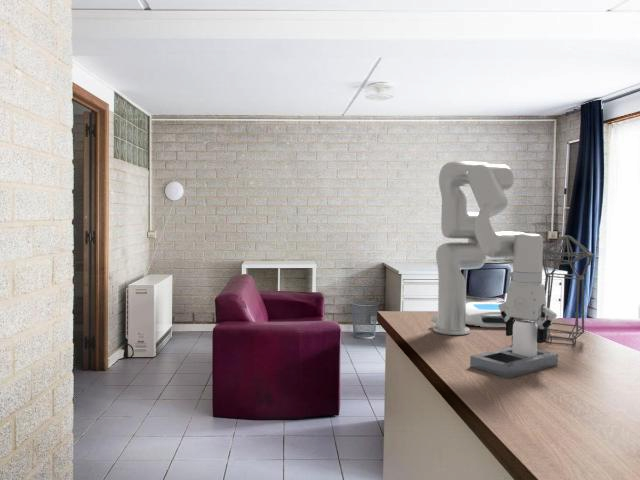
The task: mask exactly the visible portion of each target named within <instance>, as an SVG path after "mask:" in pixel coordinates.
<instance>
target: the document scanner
mask: <svg viewBox="0 0 640 480" xmlns="http://www.w3.org/2000/svg"><path fill="white" fill-rule="evenodd" d="M504 302H505V301H504ZM504 302H501V301H500V302H494V301H493V302H489V301H488V302H485V301H483V302H482V301H480V302H479V301H470V302H466V324H467V326H472V325H473V326H474V327H478V326H480V328H485V327H506V322H484V321H483V319H482V318H503V316H502V315H501V311H500V309H499V304H502V303H504ZM515 319H517V318H514V319H513V321H514V320H515ZM502 320H504V318H503V319H502ZM536 324H537V323H536ZM537 326H538V325H537ZM538 327H539V326H538Z"/></svg>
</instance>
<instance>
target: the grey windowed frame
mask: <svg viewBox="0 0 640 480" xmlns="http://www.w3.org/2000/svg"><path fill="white" fill-rule="evenodd" d="M469 359H470V360H469V361H470V363H469V365H470V366H469V367H470V368H473V369H477V370H479V371H483V372H486V373H490V374H492V375H496V376H499V377H503V378H506V379H511V378H512V379H513V378H515V377H518V376H522V375H526V374H530V373H533V372H536V371H540V370H544V369H547V368H551V367H555V366H557V365H558V364H559V363H558V362H559V354H558V353H555V352H550V351H548V350H543V349H538V348H537V356H533V357H526V356H522V355H518V354H514V353H512V346H509V347H508V346H507V347H504V348H500V349H495V350H490V351H486V352H485V351H484V352H482V353H477V354H472V355H470V357H469Z"/></svg>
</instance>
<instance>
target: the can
mask: <svg viewBox="0 0 640 480" xmlns="http://www.w3.org/2000/svg"><path fill="white" fill-rule="evenodd" d="M537 329H539V326H537V324H536V322H535V321H528V320H523V319H518V318H517V319H515V322H514V324H513V335H512V336H513V341H512V340H511V347H512V353H514V354H518V355H522V356H526V357H533V356H537V349H538V346H537Z"/></svg>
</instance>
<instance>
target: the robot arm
mask: <svg viewBox="0 0 640 480" xmlns="http://www.w3.org/2000/svg"><path fill="white" fill-rule="evenodd" d="M514 182H515V174H514V172H513V170H512V169H511V168H510V167H509V166H508V165H506V164H499V163H492V162H487V161H486V162H485V161H467V160H458V161H456V160H455V161H448V162H446V163H444V165H442V167H441V169H440V171H439V175H438V185H439V191H440V197H441V216H440V217H441V220H440V221H441V223H440V224H441V234H442V235H443V237H445V238H447V239H453V240H454V239H458V240H460V239H461V240H462V239H464V240H465V239H467V242H462V241H461V242H460V241H459V242H457V241H455V242H453V241H451V242H445V243H443V244H440V245H439V246H438V247H437V249H436V253H435V257H436V265H437V272H438V273H437V274H438V278H437V279H438V286H437V287H438V288H437V289H438V290H437V291H438V294H437V295H438V296H437V298H438V301H437V303H438V304H437V315H434V316H433V317H432V318H431V319H430V322H432V323H435V325H434V326H433V332H435V333H437V334H443V335H449V336H451V335H452V336H464V335H468V334H470V333H471V329H470V328H469V327H467V326H466V303H467V281H466V278H465V276H464V275H463V273H462V271H461V270H477V269H481V268H482V267H483V266H484V265H485V264H486V259H487V257H489V258H494V259H495V258H496V259H497V258H499V259H500V258H503V259H505V258H509V259H510V258H513V261H512V271H510V273H509V277H511V278H512V280H511V281H509V284H508V288H507V292H506V298H505V299H506V300H505V301H504V303H502V304H499V309H500V311H501V315H502V316H503V318H504V319H503V321H504V323H506V328H505V336H507V337H510V336H511V337H512V336H513V324H514V322H515V321H514V320H513V319H514V318H518V319H523V320H528V321H535V322H536V323H537V325H538V329H537V343H538V345H540V344H544V343H547V341H546V339H547V340H548V338H547V337H548V336H547V328H549V329H550V326H552V325H554V324H553V323H554V321H555V320H556V318H557V315H558V314H557V313H556V312H554V311H553V310H551V309H549V308H547V301H546V300H547V297H546V296H547V294H546V295H545V288H544V286H545V283H543V262H542V260H543V248H544V238H543V236H542V235H541V234H538V233H526V232H523V231H494V229H493V226H492V224H491V220H490V218H492V217H494V216H497V215H498V214H500V213H502V212H503V211H504V210H505V209H506V208H507V206H508V204H509V200H508V198H507V195H506V193H505V192H506V191H508V190H510V189H511V188H512V187H513V185H514ZM461 187H470V188H471V191H472V193H473V196H474V198H475V201H476V202H477V205H478V208H479V212H477V211H468V209H467V208H468V206H467V204H468V203H467V201H468V199H467V197H466V194H465V192H464V190H463V189H462V188H461ZM546 314H547V315H548V320H546Z"/></svg>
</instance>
